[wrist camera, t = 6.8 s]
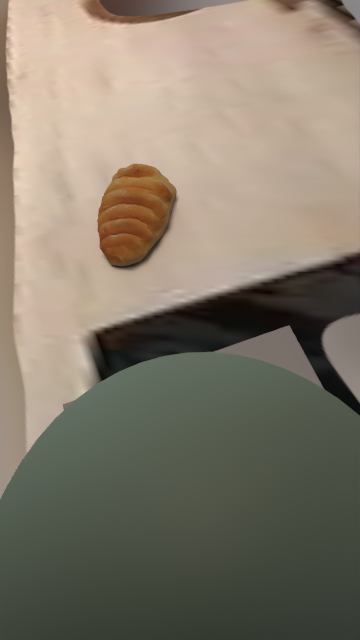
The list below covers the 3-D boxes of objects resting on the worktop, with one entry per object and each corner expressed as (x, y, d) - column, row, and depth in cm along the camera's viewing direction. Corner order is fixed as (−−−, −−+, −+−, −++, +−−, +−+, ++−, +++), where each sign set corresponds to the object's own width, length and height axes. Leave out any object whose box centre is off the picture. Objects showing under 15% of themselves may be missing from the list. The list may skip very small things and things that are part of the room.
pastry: (161, 274, 25) (152, 245, 21) (88, 268, 26) (69, 240, 23) (179, 194, 29) (174, 158, 25) (115, 192, 30) (101, 158, 26)
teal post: (275, 492, 13) (663, 743, 2) (205, 547, 13) (83, 1458, 1) (223, 417, 15) (244, 288, 3) (159, 463, 15) (-82, 500, 3)
